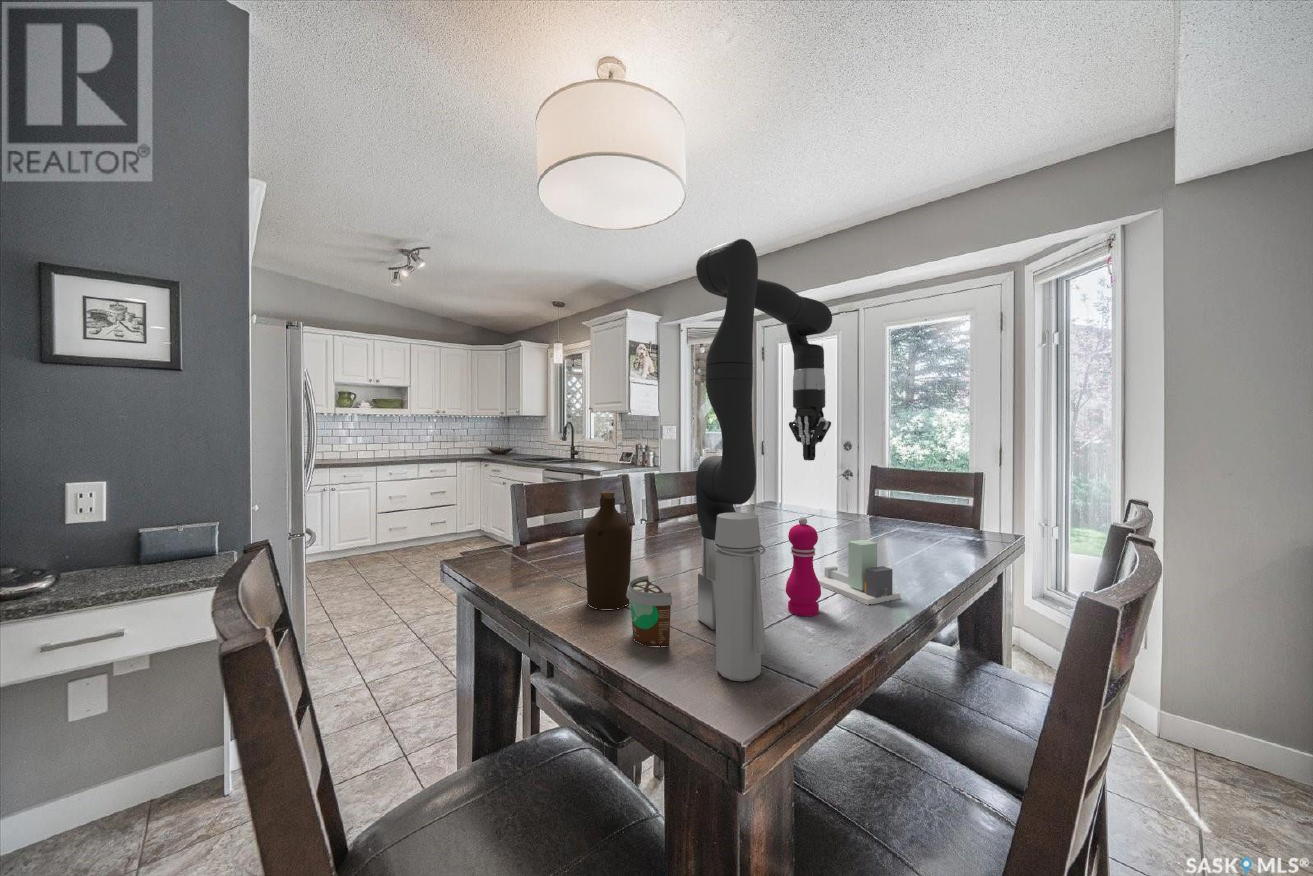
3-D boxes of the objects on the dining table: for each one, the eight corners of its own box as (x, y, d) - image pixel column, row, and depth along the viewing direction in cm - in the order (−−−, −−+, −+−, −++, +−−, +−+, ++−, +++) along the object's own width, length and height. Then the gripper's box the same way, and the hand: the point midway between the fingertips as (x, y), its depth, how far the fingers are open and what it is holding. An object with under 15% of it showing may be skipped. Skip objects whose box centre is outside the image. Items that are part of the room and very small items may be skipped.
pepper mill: (825, 617, 102) (825, 520, 102) (790, 617, 102) (789, 520, 102) (815, 605, 109) (815, 514, 109) (782, 605, 109) (781, 514, 109)
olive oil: (638, 608, 108) (636, 493, 108) (589, 614, 105) (588, 495, 104) (625, 593, 118) (624, 488, 118) (580, 598, 115) (579, 490, 114)
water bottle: (704, 669, 80) (703, 514, 80) (741, 657, 84) (741, 510, 84) (743, 695, 72) (742, 523, 72) (782, 680, 76) (781, 518, 76)
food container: (618, 629, 97) (617, 578, 97) (647, 624, 99) (647, 574, 99) (639, 656, 85) (639, 597, 85) (672, 649, 88) (672, 593, 87)
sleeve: (861, 590, 114) (861, 545, 113) (848, 585, 117) (848, 541, 117) (877, 587, 116) (877, 543, 115) (863, 583, 119) (863, 539, 119)
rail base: (867, 605, 109) (867, 573, 109) (813, 583, 124) (813, 555, 124) (900, 598, 113) (900, 567, 113) (844, 578, 128) (844, 551, 128)
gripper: (779, 390, 125) (779, 459, 125) (815, 386, 113) (815, 462, 113) (803, 391, 128) (803, 458, 128) (841, 386, 116) (841, 461, 116)
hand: (809, 460), depth 121 cm, fingers closed
